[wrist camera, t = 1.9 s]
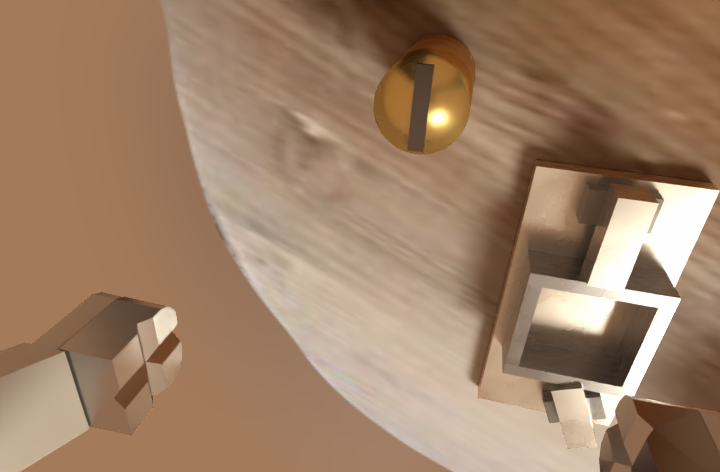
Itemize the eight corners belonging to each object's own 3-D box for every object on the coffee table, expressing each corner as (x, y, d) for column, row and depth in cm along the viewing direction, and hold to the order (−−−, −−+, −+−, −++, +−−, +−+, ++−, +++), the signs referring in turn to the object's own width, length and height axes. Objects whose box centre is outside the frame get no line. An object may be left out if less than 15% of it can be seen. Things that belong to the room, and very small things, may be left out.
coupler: (404, 30, 26) (375, 54, 20) (481, 37, 25) (477, 64, 19) (397, 106, 28) (369, 149, 22) (468, 115, 27) (461, 162, 21)
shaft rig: (535, 159, 27) (540, 186, 24) (712, 183, 26) (743, 215, 23) (478, 387, 36) (476, 429, 33) (606, 414, 35) (617, 461, 32)
